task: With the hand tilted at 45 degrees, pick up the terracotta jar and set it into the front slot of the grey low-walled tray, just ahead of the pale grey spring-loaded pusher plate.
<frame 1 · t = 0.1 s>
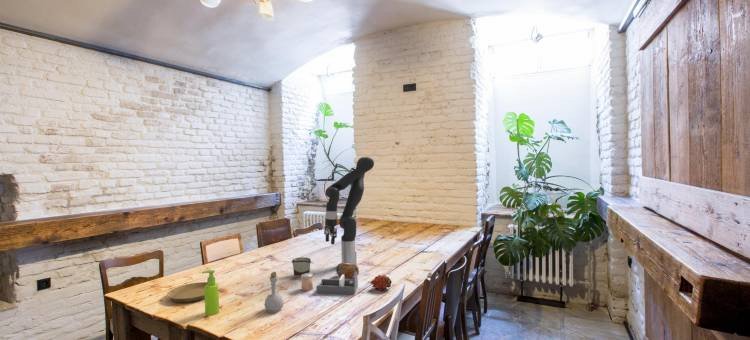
hand: (329, 242, 229), 17 cm above the table, tool pointing down, fingers open, 8 cm apart
soap dispenser: (210, 313, 165), on the table
jar: (307, 289, 194), on the table
grey low-walled tray: (339, 290, 192), on the table
food container: (303, 274, 219), on the table
brown lumpy slab: (347, 277, 214), on the table
pusher: (341, 282, 192), point 4 cm above the table, slide at 0.0 cm
dragon fruit: (381, 289, 193), on the table
potion bottle: (274, 310, 168), on the table
plant saucer: (193, 296, 187), on the table
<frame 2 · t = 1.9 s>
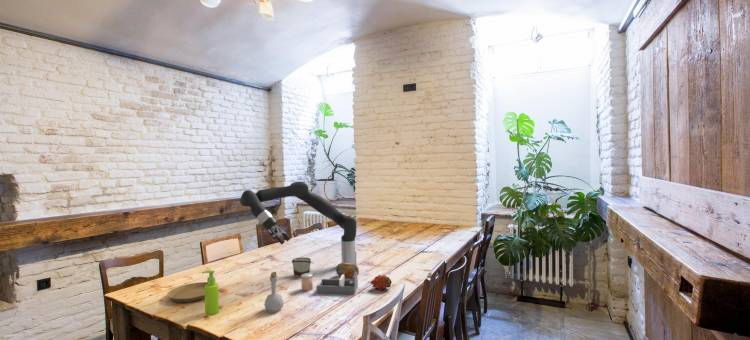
hand: (286, 241, 195), 26 cm above the table, tool tilted 45°, fingers open, 8 cm apart
nothing on the table moved.
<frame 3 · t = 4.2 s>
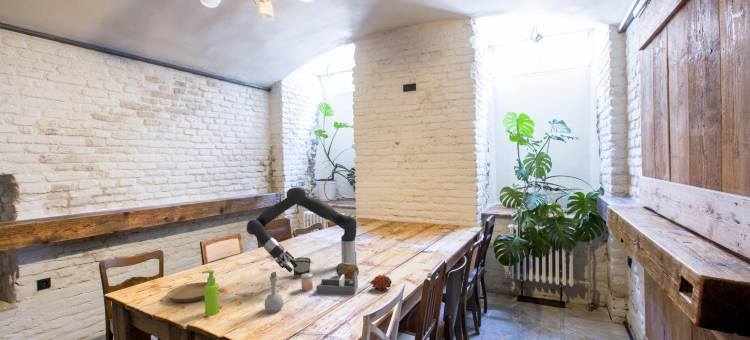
hand: (294, 268, 195), 11 cm above the table, tool tilted 45°, fingers open, 8 cm apart
nothing on the table moved.
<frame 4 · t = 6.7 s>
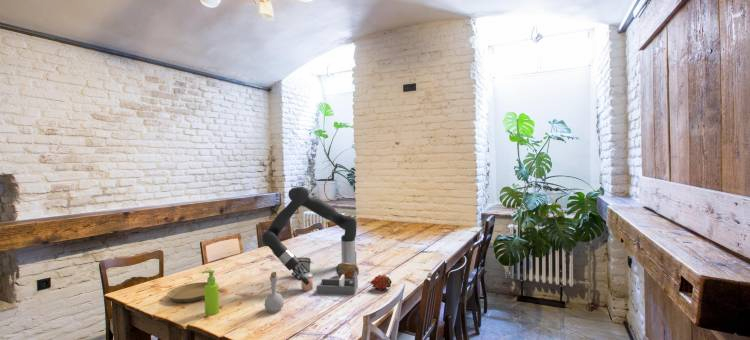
hand: (310, 281, 194), 4 cm above the table, tool tilted 45°, fingers closed on jar, 6 cm apart
jar: (307, 289, 194), on the table, touching gripper
everything else where it was.
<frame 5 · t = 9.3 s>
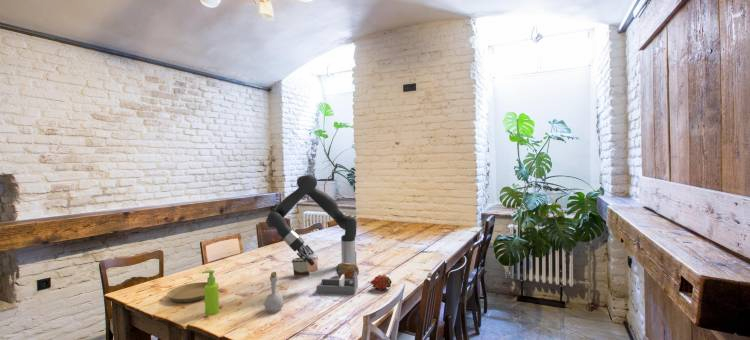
hand: (315, 262, 193), 15 cm above the table, tool tilted 45°, fingers closed on jar, 6 cm apart
jar: (312, 270, 194), point 11 cm above the table, touching gripper
everything else where it was.
when the fingers open (7 cm above the table, at t = 12.2 s): jar drops 1 cm, resting on grey low-walled tray.
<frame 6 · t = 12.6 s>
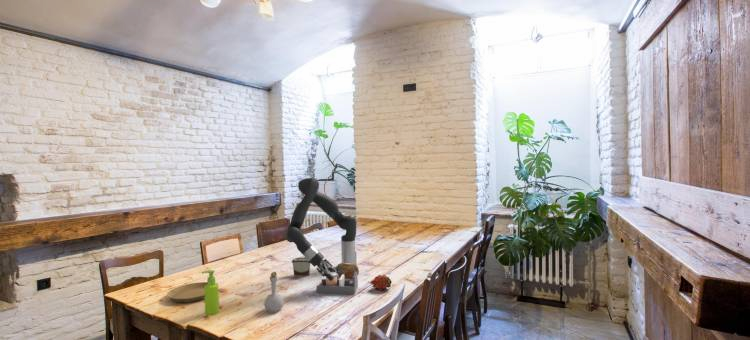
hand: (334, 277, 192), 7 cm above the table, tool tilted 45°, fingers open, 8 cm apart
jar: (331, 288, 193), point 1 cm above the table, touching grey low-walled tray
everything else where it was.
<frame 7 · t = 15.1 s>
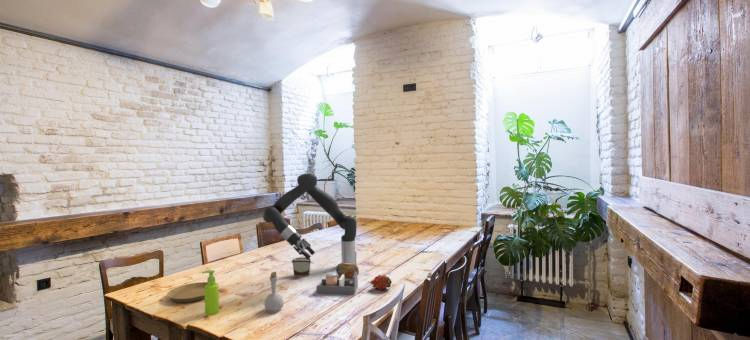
hand: (311, 255, 195), 18 cm above the table, tool tilted 45°, fingers open, 8 cm apart
nothing on the table moved.
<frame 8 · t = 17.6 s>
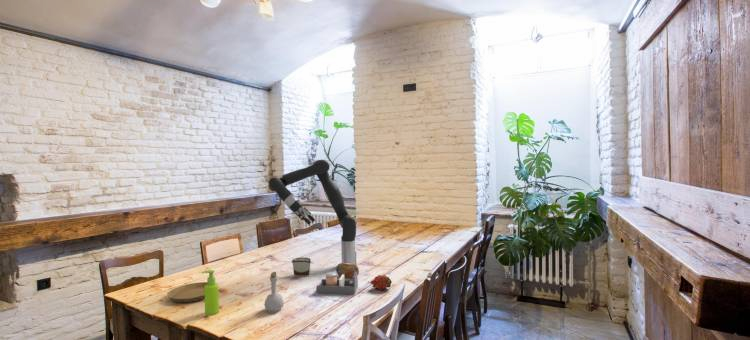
hand: (312, 222, 212), 34 cm above the table, tool tilted 45°, fingers open, 8 cm apart
nothing on the table moved.
at the end: jar 0.3 cm from the target spot on the grey low-walled tray, point 1.0 cm above the grey low-walled tray's base; jar tilted 0°; the gripper is holding nothing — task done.
